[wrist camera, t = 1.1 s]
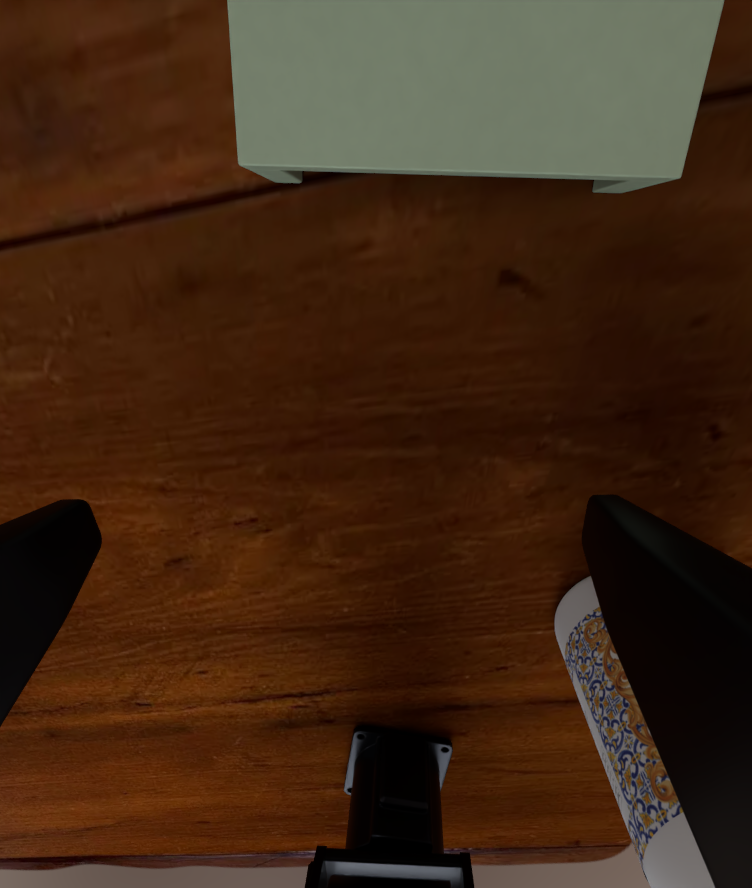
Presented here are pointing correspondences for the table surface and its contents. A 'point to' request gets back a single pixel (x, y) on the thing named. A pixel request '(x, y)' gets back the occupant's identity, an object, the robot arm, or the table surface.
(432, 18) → the green chair-shaped stand
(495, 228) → the table surface
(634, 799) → the bath foam
